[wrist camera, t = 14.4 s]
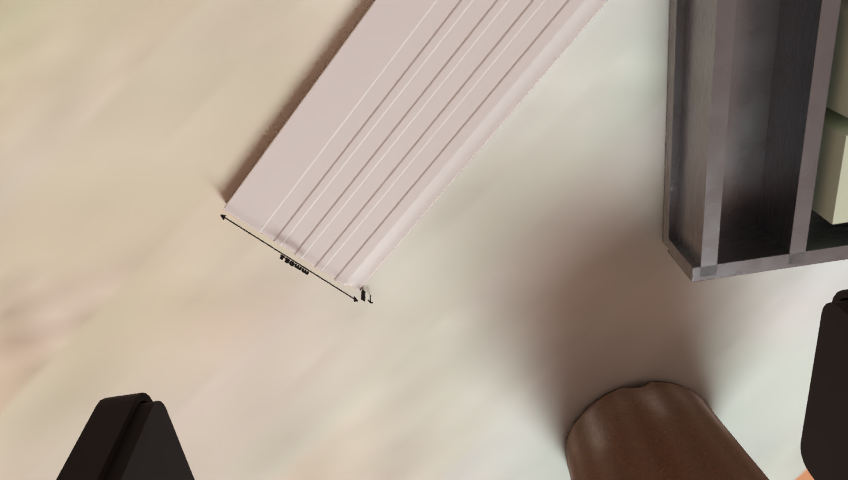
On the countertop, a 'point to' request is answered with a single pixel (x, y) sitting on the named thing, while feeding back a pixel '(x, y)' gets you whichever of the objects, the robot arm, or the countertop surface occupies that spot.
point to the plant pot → (655, 439)
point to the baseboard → (397, 124)
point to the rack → (747, 135)
